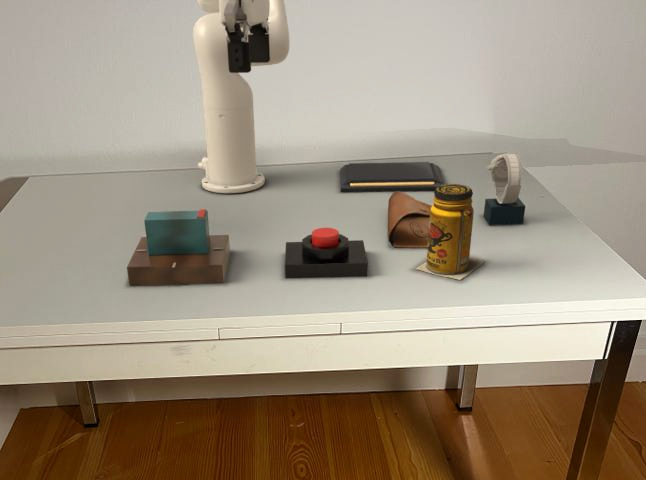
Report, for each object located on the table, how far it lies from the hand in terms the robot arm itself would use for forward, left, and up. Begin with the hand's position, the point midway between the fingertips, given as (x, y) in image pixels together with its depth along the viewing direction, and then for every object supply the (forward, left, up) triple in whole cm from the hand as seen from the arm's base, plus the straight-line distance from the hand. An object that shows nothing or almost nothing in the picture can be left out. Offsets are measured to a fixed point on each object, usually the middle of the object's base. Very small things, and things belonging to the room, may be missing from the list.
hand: (250, 67), depth 112 cm
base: (-1, -16, -27) cm, 32 cm away
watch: (+28, +31, -27) cm, 50 cm away
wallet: (0, +39, -27) cm, 47 cm away
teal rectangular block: (-1, -16, -24) cm, 29 cm away
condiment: (+31, +9, -27) cm, 42 cm away
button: (+16, -2, -23) cm, 28 cm away
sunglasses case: (+18, +19, -27) cm, 38 cm away
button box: (+16, -2, -27) cm, 31 cm away
